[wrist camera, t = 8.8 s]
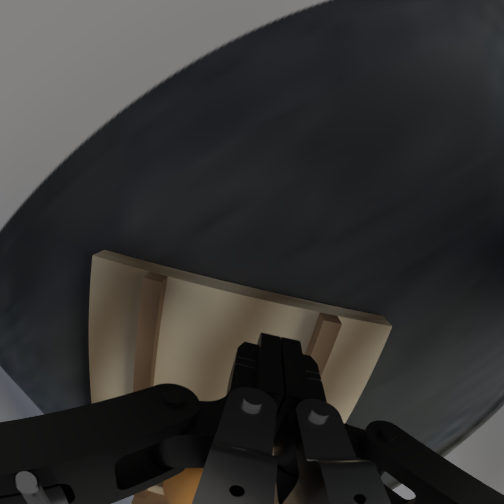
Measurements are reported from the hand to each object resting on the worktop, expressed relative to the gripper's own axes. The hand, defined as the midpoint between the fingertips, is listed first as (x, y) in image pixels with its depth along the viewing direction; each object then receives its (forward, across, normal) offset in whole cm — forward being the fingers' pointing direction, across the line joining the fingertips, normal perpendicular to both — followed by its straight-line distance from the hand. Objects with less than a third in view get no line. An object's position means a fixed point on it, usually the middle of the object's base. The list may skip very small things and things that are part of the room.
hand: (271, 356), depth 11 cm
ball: (+3, +1, +16) cm, 17 cm away
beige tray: (+6, +2, +10) cm, 12 cm away
